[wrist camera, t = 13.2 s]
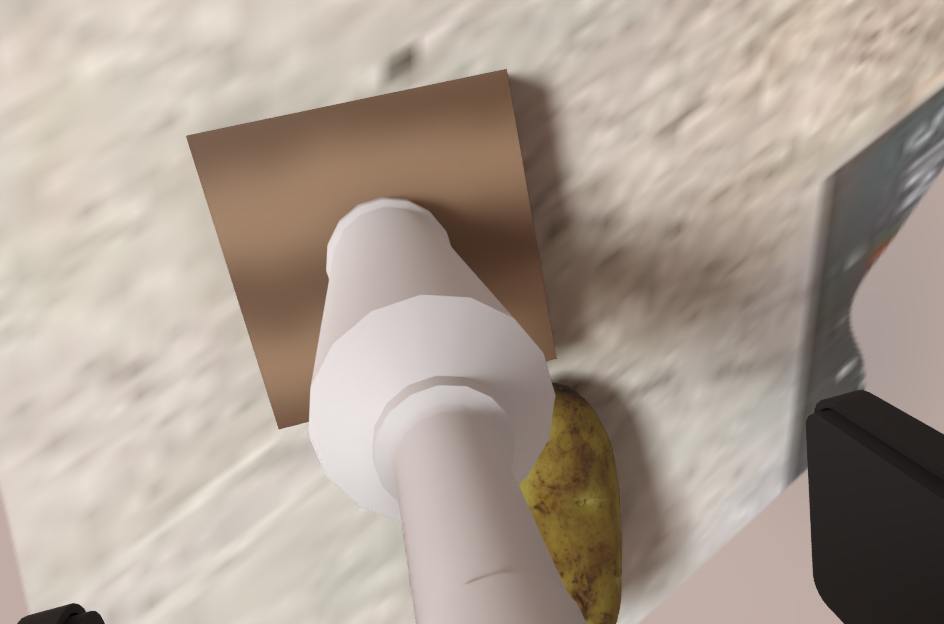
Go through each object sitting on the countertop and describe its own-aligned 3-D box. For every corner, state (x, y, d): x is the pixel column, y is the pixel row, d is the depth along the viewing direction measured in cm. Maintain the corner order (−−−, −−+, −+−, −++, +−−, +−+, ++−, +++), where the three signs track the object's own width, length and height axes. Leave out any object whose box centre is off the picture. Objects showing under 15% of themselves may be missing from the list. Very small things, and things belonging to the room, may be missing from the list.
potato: (653, 403, 38) (730, 478, 31) (558, 601, 41) (607, 714, 33) (514, 356, 36) (560, 424, 28) (423, 568, 39) (442, 682, 31)
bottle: (335, 319, 31) (308, 1043, 7) (317, 200, 29) (203, 616, 6) (453, 303, 31) (786, 912, 8) (441, 186, 30) (811, 502, 6)
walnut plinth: (200, 132, 30) (186, 135, 28) (492, 72, 32) (506, 68, 29) (284, 402, 34) (278, 429, 32) (539, 338, 36) (556, 358, 33)
